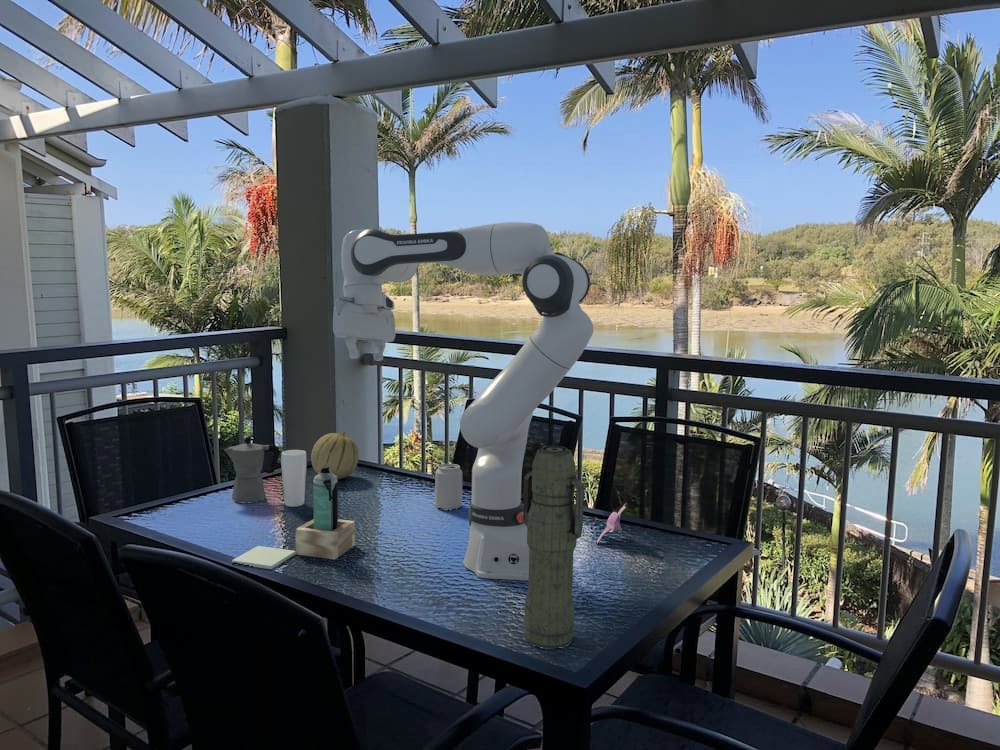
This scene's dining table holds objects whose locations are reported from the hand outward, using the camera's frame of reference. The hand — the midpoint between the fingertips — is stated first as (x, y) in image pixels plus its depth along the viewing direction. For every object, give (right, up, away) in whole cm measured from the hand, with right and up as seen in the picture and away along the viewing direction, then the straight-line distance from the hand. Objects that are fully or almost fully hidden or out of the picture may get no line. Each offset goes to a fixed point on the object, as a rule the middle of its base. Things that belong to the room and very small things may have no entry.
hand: (366, 359), depth 182 cm
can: (+16, -41, +39) cm, 59 cm away
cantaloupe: (-21, -37, +67) cm, 79 cm away
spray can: (-10, -45, +4) cm, 46 cm away
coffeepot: (-40, -39, +43) cm, 71 cm away
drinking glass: (-27, -40, +39) cm, 62 cm away
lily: (+59, -45, +14) cm, 75 cm away
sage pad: (-23, -45, -3) cm, 51 cm away
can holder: (-10, -45, +4) cm, 46 cm away
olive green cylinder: (+39, -51, -39) cm, 76 cm away
